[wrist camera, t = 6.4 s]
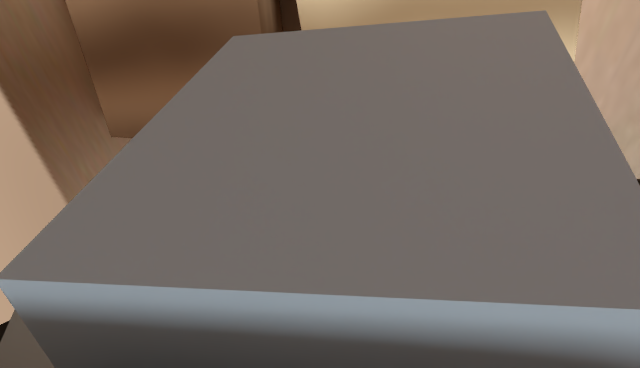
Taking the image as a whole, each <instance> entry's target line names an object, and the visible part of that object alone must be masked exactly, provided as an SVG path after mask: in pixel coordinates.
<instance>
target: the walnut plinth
mask: <svg viewBox="0 0 640 368" xmlns="http://www.w3.org/2000/svg"><path fill="white" fill-rule="evenodd" d="M65 2H66V5H67V7H68V10H69V13H70V16H71V19H72V22H73V25H74V28H75V31H76V34H77V37H78V40H79V43H80V46H81V49H82V52H83V55H84V58H85V61H86V64H87V67H88V70H89V73H90V76H91V79H92V82H93V85H94V88H95V91H96V94H97V96H98V99H99V102H100V105H101V108H102V111H103V114H104V117H105V120H106V123H107V126H108V129H109V132H110V135H111V137H123V138H133V137H134V136H135V135H136V134H137V133H138V132H139V131H140V130H141V129H142V128H143V127H144V126H145V125H146V124H147V123H148V122H149V121H150V120H151V119H152V118H153V117H154V116H155V115H156V114H157V113H158V112H159V111H160V110H161V109H162V108H163V107H164V106H165V105H166V104H167V103H168V102H169V101H170V100H171V99H172V98H173V97H174V96H175V95H176V94H177V93H178V92H179V91H180V90H181V89H182V88H183V87H184V86H185V85H186V84H187V83H188V82H189V81H190V80H191V79H192V78H193V77H194V75H195V74H196V73H197V72H198V71H199V70H200V69H201V68H202V67H203V66H204V65H205V64H206V63H207V62H208V61H209V60H210V59H211V58H212V57H213V56H214V55H215V54H216V53H217V52H218V51H219V50H220V49H221V48H222V47H223V46H224V45H225V44H226V43H227V42H228V41H229V40H230V39H231V38H232V37H233V36H241V35H253V34H265V33H277V32H283V31H282V20H281V10H280V0H65Z"/></svg>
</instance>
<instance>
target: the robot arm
mask: <svg viewBox="0 0 640 368" xmlns="http://www.w3.org/2000/svg"><path fill="white" fill-rule="evenodd" d="M637 181H638V183H639V185H640V179H637ZM0 368H55V367H54V365H53V364H52V363H51V361H50V360H49V358H48V357H47V355H46V354H45V352H44V351H43V349H42V348H41V347H40V345H39V344H38V342H37V341H36V339H35V338H34V336H33V335H32V333H31V332H30V331H29V329H28V328H27V326H26V325H25V323H24V322H23V320H22V319H21V317H20V316H19V315H18V313H17V312H16V310H14V312H13V315H12V317H11V319H10V320H9V321H7V322H5V323H3V324H1V325H0Z"/></svg>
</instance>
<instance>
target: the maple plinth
mask: <svg viewBox="0 0 640 368" xmlns="http://www.w3.org/2000/svg"><path fill="white" fill-rule="evenodd" d="M296 2H297V8H298V13H299V19H300V25H301V30H313V29H326V28H338V27H350V26H362V25H374V24H386V23H398V22H410V21H422V20H434V19H446V18H459V17H471V16H483V15H495V14H507V13H519V12H531V11H543V10H546V12H547V13H548V15H549V17H550V19H551V21H552V23H553V25H554V26H555V28H556V30H557V32H558V34H559V36H560V38H561V39H562V41H563V43H564V45H565V47H566V49H567V51H568V53H569V54H570V56H571V58H572V60H573V62H574V60H575V52H576V44H577V36H578V29H579V21H580V13H581V5H582V0H296Z"/></svg>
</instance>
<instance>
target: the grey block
mask: <svg viewBox="0 0 640 368" xmlns="http://www.w3.org/2000/svg"><path fill="white" fill-rule="evenodd" d="M0 288H1V290H2V291H3V293H4V294H5V296H6V297H7V298H8V300H9V301H10V303H11V304H12V306H13V307H14V309H15V310H16V312H17V313H18V315H19V316H20V317H21V319H22V320H23V322H24V323H25V325H26V326H27V328H28V329H29V331H30V332H31V333H32V335H33V336H34V338H35V339H36V341H37V342H38V344H39V345H40V347H41V348H42V349H43V351H44V352H45V354H46V355H47V357H48V358H49V360H50V361H51V363H52V364H53V365H54V367H55V368H640V185H639V183H638V181H637V179H636V177H635V176H634V174H633V172H632V170H631V168H630V166H629V164H628V162H627V161H626V159H625V157H624V155H623V153H622V151H621V149H620V148H619V146H618V144H617V142H616V140H615V138H614V136H613V135H612V133H611V131H610V129H609V127H608V125H607V123H606V121H605V120H604V118H603V116H602V114H601V112H600V110H599V108H598V107H597V105H596V103H595V101H594V99H593V97H592V95H591V94H590V92H589V90H588V88H587V86H586V84H585V82H584V80H583V79H582V77H581V75H580V73H579V71H578V69H577V67H576V66H575V64H574V62H573V60H572V58H571V56H570V54H569V53H568V51H567V49H566V47H565V45H564V43H563V41H562V39H561V38H560V36H559V34H558V32H557V30H556V28H555V26H554V25H553V23H552V21H551V19H550V17H549V15H548V13H547V12H546V10H543V11H531V12H519V13H507V14H495V15H483V16H471V17H459V18H446V19H434V20H422V21H410V22H398V23H386V24H374V25H362V26H350V27H338V28H326V29H313V30H301V31H289V32H277V33H265V34H253V35H241V36H233V37H232V38H231V39H230V40H229V41H228V42H227V43H226V44H225V45H224V46H223V47H222V48H221V49H220V50H219V51H218V52H217V53H216V54H215V55H214V56H213V57H212V58H211V59H210V60H209V61H208V62H207V63H206V64H205V65H204V66H203V67H202V68H201V69H200V70H199V71H198V72H197V73H196V74H195V75H194V77H193V78H192V79H191V80H190V81H189V82H188V83H187V84H186V85H185V86H184V87H183V88H182V89H181V90H180V91H179V92H178V93H177V94H176V95H175V96H174V97H173V98H172V99H171V100H170V101H169V102H168V103H167V104H166V105H165V106H164V107H163V108H162V109H161V110H160V111H159V112H158V113H157V114H156V115H155V116H154V117H153V118H152V119H151V120H150V121H149V122H148V123H147V124H146V125H145V126H144V127H143V128H142V129H141V130H140V131H139V132H138V133H137V134H136V135H135V136H134V137H133V138H132V139H131V140H130V141H129V142H128V144H127V145H126V146H125V147H124V148H123V149H122V150H121V151H120V152H119V153H118V154H117V155H116V156H115V157H114V158H113V159H112V160H111V161H110V162H109V163H108V164H107V165H106V166H105V167H104V168H103V169H102V170H101V171H100V172H99V173H98V174H97V175H96V176H95V177H94V178H93V179H92V180H91V181H90V182H89V183H88V184H87V185H86V186H85V187H84V188H83V189H82V190H81V191H80V192H79V193H78V194H77V195H76V196H75V197H74V198H73V199H72V200H71V201H70V202H69V203H68V204H67V205H66V206H65V207H64V208H63V210H62V211H61V212H60V213H59V214H58V215H57V216H56V217H55V218H54V219H53V220H52V221H51V222H50V223H49V224H48V225H47V226H46V227H45V228H44V229H43V230H42V231H41V232H40V233H39V234H38V235H37V236H36V237H35V238H34V239H33V240H32V241H31V242H30V243H29V244H28V245H27V246H26V247H25V248H24V249H23V250H22V251H21V252H20V253H19V254H18V255H17V256H16V257H15V258H14V259H13V260H12V261H11V262H10V263H9V264H8V265H7V266H6V267H5V268H4V269H3V270H2V271H1V272H0Z"/></svg>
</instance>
